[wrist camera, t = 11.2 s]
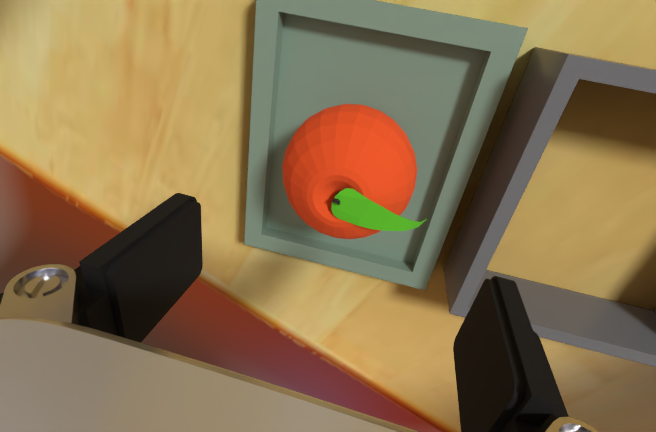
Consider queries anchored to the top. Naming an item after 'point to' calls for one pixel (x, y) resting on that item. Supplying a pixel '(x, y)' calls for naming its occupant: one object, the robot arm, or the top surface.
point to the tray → (379, 93)
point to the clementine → (350, 172)
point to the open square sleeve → (505, 193)
